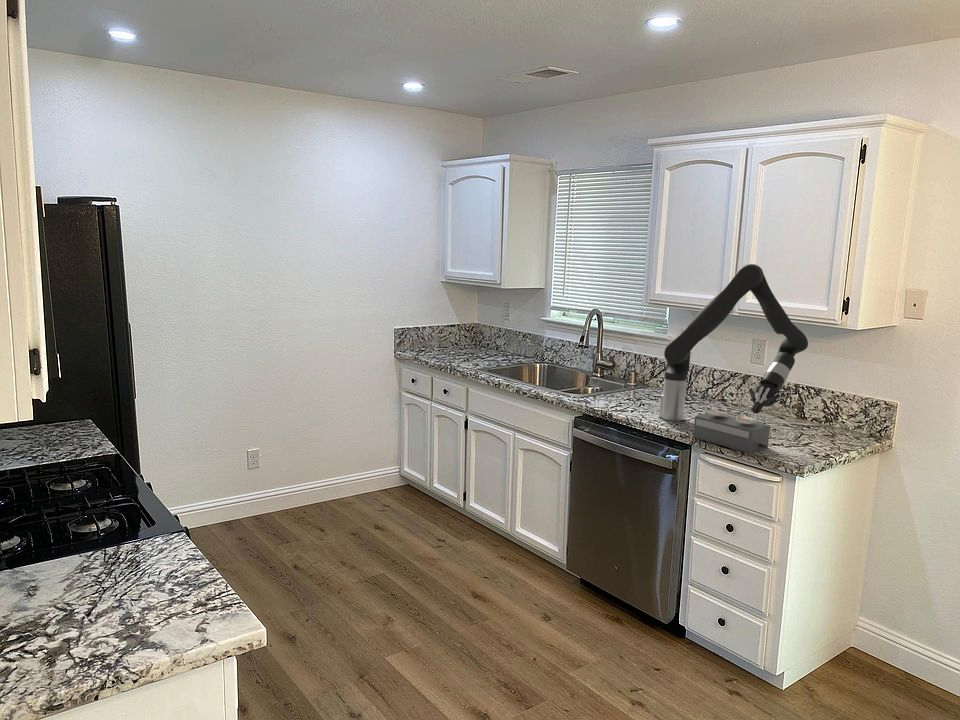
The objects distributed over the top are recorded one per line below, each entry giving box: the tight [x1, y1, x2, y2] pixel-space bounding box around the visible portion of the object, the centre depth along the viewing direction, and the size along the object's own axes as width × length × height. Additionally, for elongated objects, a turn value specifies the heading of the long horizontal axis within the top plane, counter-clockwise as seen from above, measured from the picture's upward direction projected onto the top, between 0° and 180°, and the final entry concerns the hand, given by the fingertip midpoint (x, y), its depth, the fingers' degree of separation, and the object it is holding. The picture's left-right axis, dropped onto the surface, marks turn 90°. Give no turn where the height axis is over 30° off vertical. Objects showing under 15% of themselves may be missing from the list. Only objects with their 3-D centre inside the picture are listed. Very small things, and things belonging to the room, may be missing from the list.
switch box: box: [692, 412, 771, 454], centre depth 269 cm, size 27×12×8 cm, turn 39°
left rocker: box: [706, 409, 730, 417], centre depth 274 cm, size 5×7×1 cm
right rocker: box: [735, 415, 759, 424], centre depth 264 cm, size 5×7×1 cm
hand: (754, 412), depth 267 cm, fingers closed
